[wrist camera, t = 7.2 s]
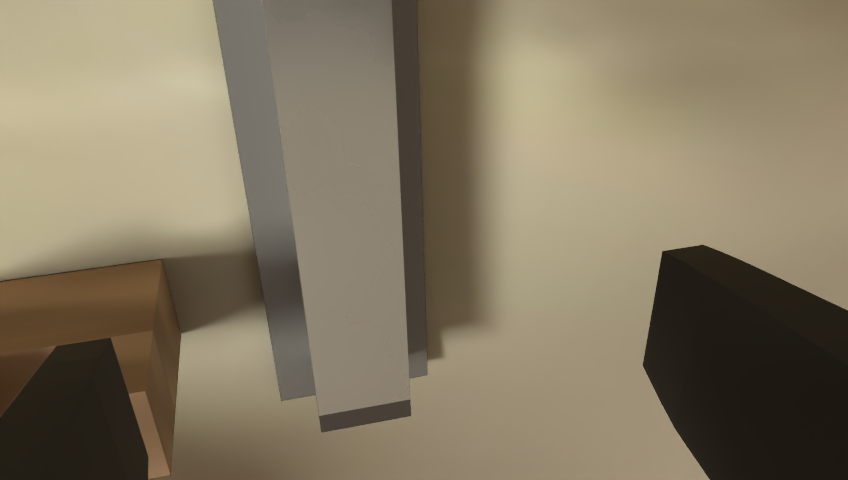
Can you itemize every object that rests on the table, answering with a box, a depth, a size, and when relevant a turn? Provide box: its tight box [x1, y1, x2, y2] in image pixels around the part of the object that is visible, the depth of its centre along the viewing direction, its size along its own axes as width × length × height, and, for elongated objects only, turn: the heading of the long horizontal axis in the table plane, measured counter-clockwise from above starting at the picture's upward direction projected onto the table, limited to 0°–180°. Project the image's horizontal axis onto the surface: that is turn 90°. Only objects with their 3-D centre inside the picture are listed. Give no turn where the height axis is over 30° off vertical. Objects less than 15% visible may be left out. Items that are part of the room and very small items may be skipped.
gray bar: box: [213, 0, 427, 401], centre depth 18 cm, size 18×4×1 cm, turn 2°
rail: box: [261, 0, 411, 432], centre depth 16 cm, size 16×2×2 cm, turn 2°
